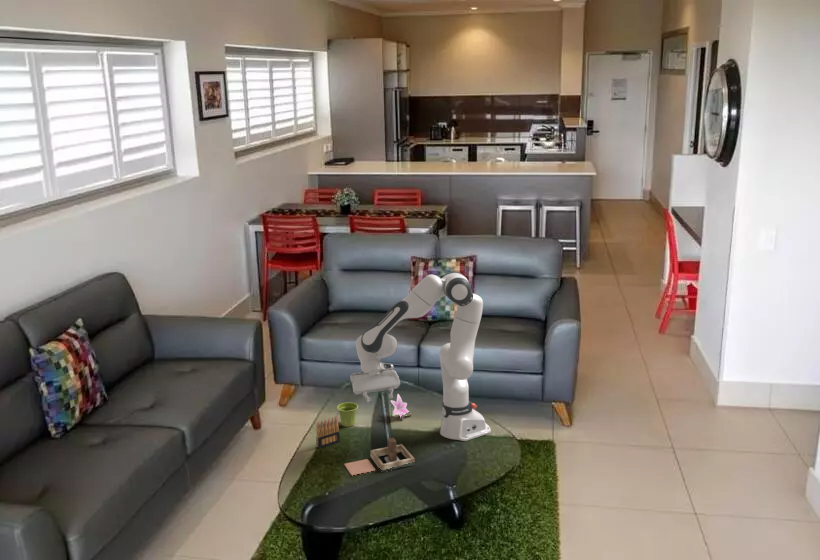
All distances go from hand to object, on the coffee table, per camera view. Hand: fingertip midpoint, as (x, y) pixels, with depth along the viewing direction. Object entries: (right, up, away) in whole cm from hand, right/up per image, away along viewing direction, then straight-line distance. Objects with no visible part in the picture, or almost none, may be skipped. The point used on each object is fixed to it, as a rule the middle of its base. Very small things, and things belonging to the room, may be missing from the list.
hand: (380, 400), depth 310 cm
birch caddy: (+5, -24, -5) cm, 25 cm away
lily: (+8, -14, +36) cm, 39 cm away
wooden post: (+5, -24, -5) cm, 25 cm away
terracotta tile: (-8, -26, -10) cm, 29 cm away
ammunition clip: (-23, -21, +10) cm, 33 cm away
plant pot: (-16, -16, +30) cm, 37 cm away
